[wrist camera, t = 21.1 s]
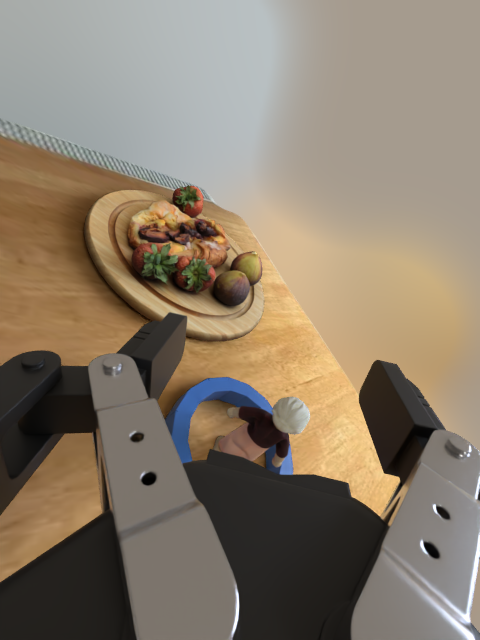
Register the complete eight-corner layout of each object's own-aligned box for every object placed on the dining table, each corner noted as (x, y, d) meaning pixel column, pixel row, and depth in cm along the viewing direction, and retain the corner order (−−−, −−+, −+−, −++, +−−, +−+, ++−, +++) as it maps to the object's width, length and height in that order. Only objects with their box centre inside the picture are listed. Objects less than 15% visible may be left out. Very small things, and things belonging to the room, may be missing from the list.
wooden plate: (118, 175, 54) (134, 133, 49) (254, 256, 67) (277, 230, 62) (37, 282, 32) (51, 224, 27) (264, 372, 45) (301, 345, 40)
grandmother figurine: (255, 454, 35) (334, 415, 28) (246, 485, 32) (333, 450, 25) (205, 418, 34) (273, 367, 27) (192, 447, 31) (265, 399, 24)
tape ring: (131, 427, 29) (141, 416, 27) (227, 369, 41) (238, 360, 39) (221, 578, 25) (239, 577, 24) (295, 467, 38) (311, 461, 36)
